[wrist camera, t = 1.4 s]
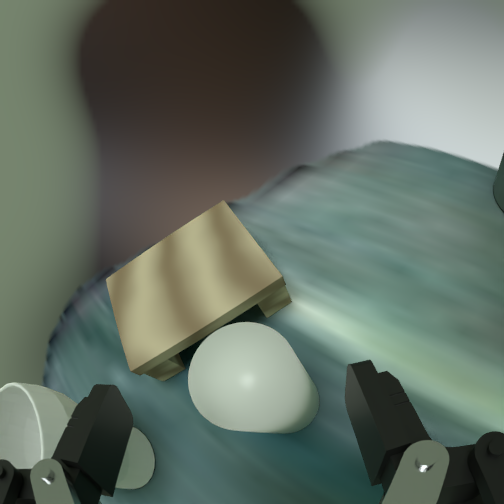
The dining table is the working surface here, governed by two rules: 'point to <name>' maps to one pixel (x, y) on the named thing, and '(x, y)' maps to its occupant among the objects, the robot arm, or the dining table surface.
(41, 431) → the cup
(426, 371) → the dining table surface
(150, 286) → the shelf stand
